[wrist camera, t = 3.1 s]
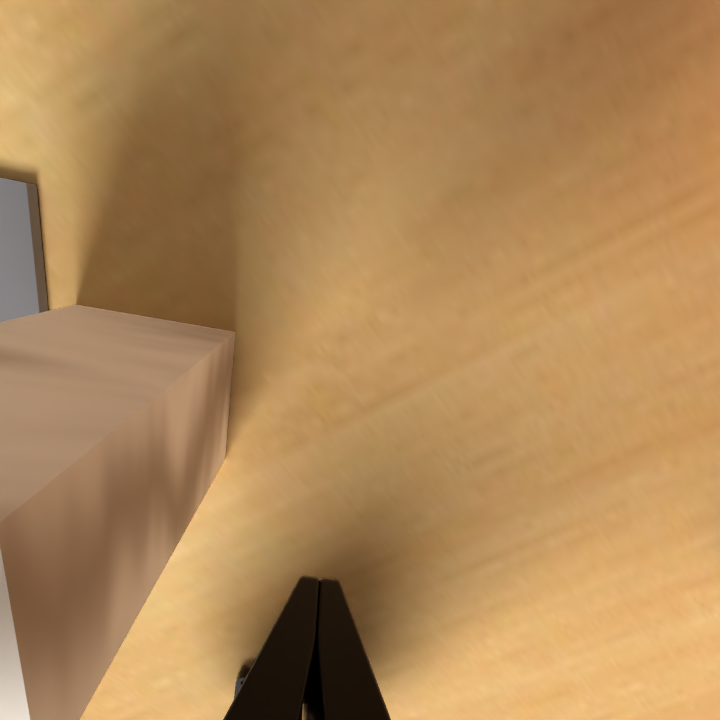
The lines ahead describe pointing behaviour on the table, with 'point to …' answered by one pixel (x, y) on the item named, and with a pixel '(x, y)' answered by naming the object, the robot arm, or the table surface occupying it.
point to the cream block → (96, 486)
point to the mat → (20, 252)
